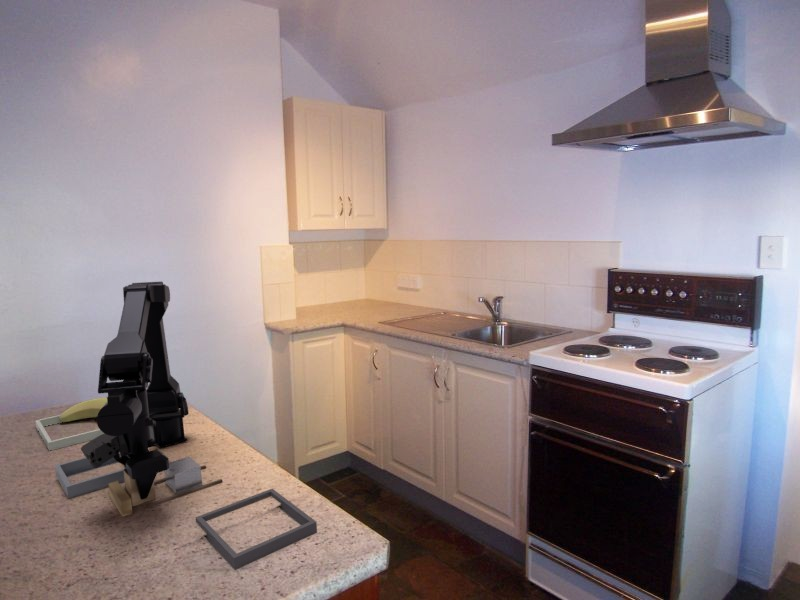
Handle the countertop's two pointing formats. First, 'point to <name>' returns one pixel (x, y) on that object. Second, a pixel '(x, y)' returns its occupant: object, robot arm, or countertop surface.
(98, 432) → the fruit rim
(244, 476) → the countertop surface
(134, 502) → the block
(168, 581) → the countertop surface
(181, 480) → the grey small block
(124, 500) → the track
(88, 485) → the tray
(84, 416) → the banana
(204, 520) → the dark grey square frame
